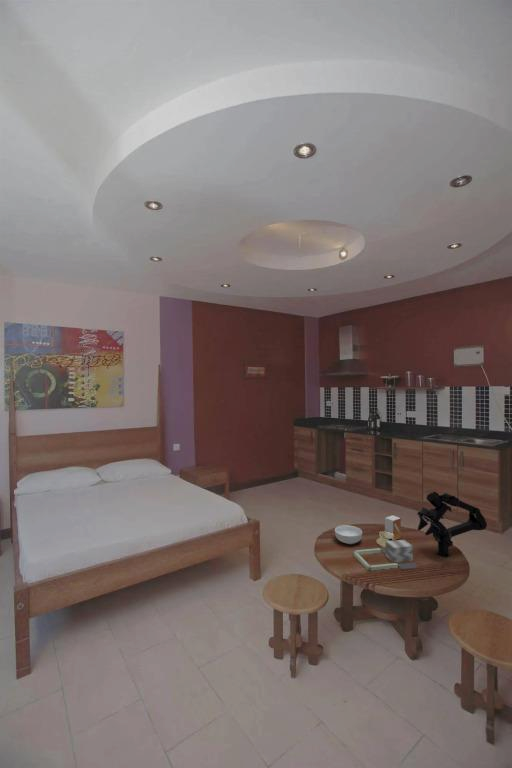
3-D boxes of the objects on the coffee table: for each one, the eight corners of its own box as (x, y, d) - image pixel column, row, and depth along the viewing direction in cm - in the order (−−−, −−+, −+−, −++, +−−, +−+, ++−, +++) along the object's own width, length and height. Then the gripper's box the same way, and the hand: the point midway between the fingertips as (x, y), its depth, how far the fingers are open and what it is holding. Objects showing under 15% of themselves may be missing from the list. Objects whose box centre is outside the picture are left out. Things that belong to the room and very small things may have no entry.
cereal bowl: (344, 533, 236) (344, 522, 236) (367, 541, 224) (367, 530, 223) (329, 541, 224) (329, 530, 224) (352, 550, 212) (352, 538, 212)
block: (404, 554, 207) (404, 539, 207) (412, 561, 199) (412, 545, 199) (385, 556, 205) (385, 541, 205) (393, 563, 197) (393, 547, 197)
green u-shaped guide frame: (394, 548, 214) (394, 545, 214) (418, 567, 192) (418, 564, 192) (351, 552, 209) (351, 549, 209) (370, 573, 187) (370, 569, 187)
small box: (393, 541, 224) (393, 520, 223) (384, 537, 229) (384, 517, 229) (401, 538, 228) (401, 518, 228) (392, 534, 233) (392, 514, 233)
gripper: (419, 497, 215) (403, 517, 213) (441, 508, 196) (423, 530, 194) (431, 509, 216) (415, 529, 214) (453, 521, 198) (436, 543, 196)
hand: (421, 532), depth 205 cm, fingers open, 6 cm apart
